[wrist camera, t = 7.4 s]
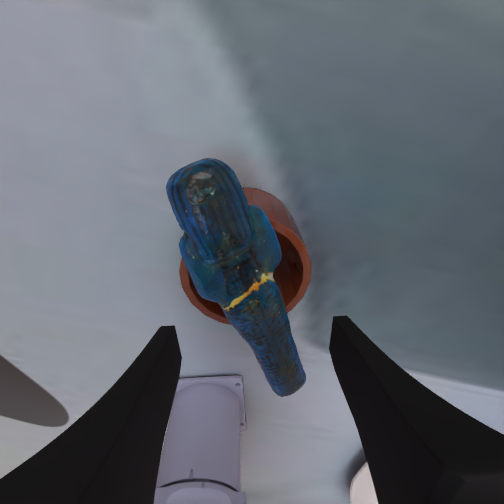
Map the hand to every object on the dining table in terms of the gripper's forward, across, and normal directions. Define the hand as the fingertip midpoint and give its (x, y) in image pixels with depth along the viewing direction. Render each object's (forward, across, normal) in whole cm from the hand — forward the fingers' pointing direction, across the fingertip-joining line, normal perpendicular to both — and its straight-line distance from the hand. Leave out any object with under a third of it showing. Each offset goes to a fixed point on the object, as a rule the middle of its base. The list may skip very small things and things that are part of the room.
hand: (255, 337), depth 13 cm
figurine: (+5, 0, 0) cm, 5 cm away
